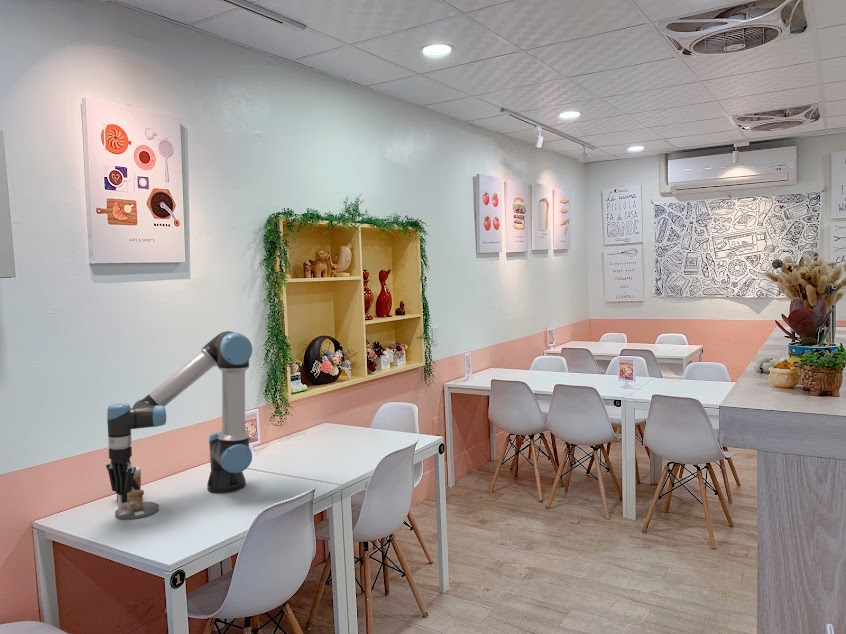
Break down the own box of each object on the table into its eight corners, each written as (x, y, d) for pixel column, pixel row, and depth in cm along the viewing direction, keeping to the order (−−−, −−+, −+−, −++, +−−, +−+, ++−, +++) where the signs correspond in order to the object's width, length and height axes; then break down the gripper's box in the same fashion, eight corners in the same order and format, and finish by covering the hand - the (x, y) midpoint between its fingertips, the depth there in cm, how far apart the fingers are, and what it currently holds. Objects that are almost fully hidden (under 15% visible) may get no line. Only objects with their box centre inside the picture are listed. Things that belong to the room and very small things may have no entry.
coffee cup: (132, 503, 251) (130, 473, 250) (111, 502, 253) (109, 472, 252) (147, 495, 260) (145, 466, 259) (127, 494, 262) (125, 465, 261)
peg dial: (133, 506, 244) (132, 489, 244) (147, 505, 244) (146, 489, 244) (117, 518, 233) (116, 501, 232) (132, 517, 233) (131, 500, 232)
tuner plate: (166, 504, 249) (165, 501, 249) (147, 519, 234) (146, 516, 234) (128, 504, 250) (128, 501, 250) (106, 520, 235) (106, 516, 235)
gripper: (98, 447, 233) (101, 511, 234) (123, 451, 227) (126, 517, 229) (116, 442, 239) (119, 504, 241) (141, 446, 234) (143, 510, 235)
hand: (122, 510), depth 235 cm, fingers closed
